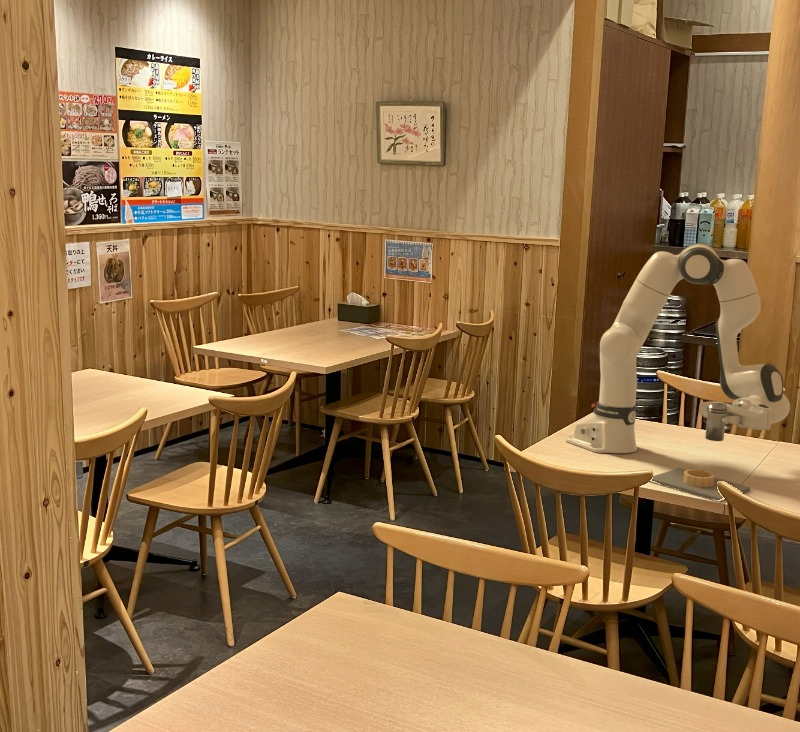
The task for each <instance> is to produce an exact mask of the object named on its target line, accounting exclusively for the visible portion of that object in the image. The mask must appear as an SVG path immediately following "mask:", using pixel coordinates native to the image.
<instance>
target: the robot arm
mask: <svg viewBox="0 0 800 732" xmlns="http://www.w3.org/2000/svg"><path fill="white" fill-rule="evenodd" d="M681 280H685V281H686V282H688V283H691V284H693V285H695V284H696V285H713V286H714V288H715V290H716V296H717V298H718V301H719V305H720V306H719V307H720V310H719V311H720V314H719V317H718V319H717V320H716V323H715V335H716V343H717V345H716V346H717V352H718V360H719V368H720V369H719V370H720V372H719V373H720V375H719V386H720V389H721V391H722V393H724V395H725V396H726V397H727V398H729V399H731V400H733V402H732V404H731V403H726V402H723V401H722V402H721V401H702V402H700V404H699V408H698V409H699V410H698V413H699V415H700V416H702V417H703V418H705V419H707V415H708V404H709V403H722V404H726V405H727V412H726V416H723V417H722V420H721V422H722V423H725V425H726V424H727V425H728V424H732V425H735V426H737V427H738V428H741V429H751V430H754V431H755V430H756V431H760V430H761V431H769V430H771V426H772V424H776V423H779V422H782V420H784V419H786V418H787V416H788V415H789V414H790V410H791V405H790V404H791V402H790V401H789V398H788V397H787V396H786V395H785V393H784V378H783V376H782V373H781V372H780V370H779V369H778V368H777V367H776V366H775V365H774V364H772V363H760V364H759V363H758V364H751V365H750V364H749V365H742V364H741V363H740V360H739V353H738V351H739V350H738V342H737V337H738V335H739V333H740V332H741V331H742V330H743V329H744V328H746V327H747V326H749V325H751V324H752V323H753V322H755V320H756V319H757V318H758V316H759V315H760V312H761V310H762V309H761V307H762V306H761V305H762V304H761V298H760V295H759V290H758V287H757V284H756V281H755V278H754V276H753V274H752V272H751V270H750V267H749V265H748V263H747V262H746V261H744V260H743V259H740V258H729V259H726V260H725V259H721V258H720V257H719V255H718V253H717V251H716V249H715V248H714V247H713V246H711V245H710V244H707V243H704V242H695V243H693V244H691V245H689V246H687V247H685V248H684V249H682V250H681V251H679V252H677V253H676V254H674V253H671V252H669V251H663V250H662V251H657V252H655V253H653V255H651V257H650V258H648V260H647V261H646V263H645V264H644V265H643V267H642V268H641V270H640V272H639V273H638V275H637V276H636V278H635V280H634V282H633V284H632V286H631V287H630V289H629V291H628V293H627V295H626V297H625V299H624V300H623V301H622V304H621V307H620V309H619V312H618V313H617V315H616V317H615V320H614V322H613V323H612V325H611V326H610V328H609V329H607V330H606V331H605V332H604V333H603V334H602V336H601V338H600V341H599V368H600V370H599V371H600V382H599V397H598V399H599V400H598V401H596V402H594V403H591V406H590V407H591V408H594V409H593V412H592V413H590V414H588V415H587V416H585V417H584V418H582V419H580V420H578V422H577V423H576V424H575V427H574V430H573V434H570V435H568V436H567V437H566V439H565V442H566V443H568V444H569V443H570V444H573V445H575V446H578V447H580V448H583V449H586V450H589V451H591V452H595V453H598V454H601V453H604V454H605V453H606V454H607V453H608V454H630V453H635V452H636V451H637V450H638V447H637V443H636V435H635V433H636V432H635V423H636V422H635V421H636V417H637V405H636V399H637V387H638V378H637V377H638V376H637V375H638V374H637V372H638V371H637V359H638V357H637V355H638V353H639V352H640V350H641V348H642V347H643V346H644V343H645V342H646V340H647V338H648V337H649V334H650V332H651V330H652V328H653V326H654V324H655V322H656V320H657V318H658V317H659V315H660V313H661V312H662V310H663V308H664V306H665V305H666V302H667V301H668V299H669V298H670V296H671V293H672V292H673V290H674V288H675V287H676V285H677V284H678V282H680V281H681Z"/></svg>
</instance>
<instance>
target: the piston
mask: <svg viewBox="0 0 800 732" xmlns="http://www.w3.org/2000/svg"><path fill="white" fill-rule="evenodd" d="M722 403H723V402H722ZM722 403H709V404H708V415H707V418H706V427H705V437H704V438H705V439H706V440H708V441H711V442H712V441H713V442H723V441H724V440H725V431H726V430H725V429H726V423H722V422H721V420H722V417H723V416H726V412H727V405H726V404H727V403H726V404H722Z"/></svg>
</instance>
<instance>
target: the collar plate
mask: <svg viewBox="0 0 800 732" xmlns="http://www.w3.org/2000/svg"><path fill="white" fill-rule="evenodd" d="M652 476H653V479H652V481H655V482H657V483H660V484H662V485H666V486H669V487H673V488H676V489H679V490H681V491H680V492H683V491H685V492H684V493H686V492H688V493H687V494H689V493H691V494H690V495H693V494H695V495H694V496H696V495H698V496H697V497H700V496H702V497H701V498H703V497H705V498H704V499H707V498H709V499H708V500H710V499H715V500H720V499H722V498H723V497H722V496H721V495H720V493H719V492H718V489H717V482H718V481H725V482H727V483H728V484H730V485H732V486H733V487H735V488H737V489H738V490H740V491H741V492H743V493H742V494H745V493H748V492H750V491H751V487H750V486H747V485H744V484H741V483H736V482H733V481H728V480H725V479H722V478H718V477H715V473H713V472H711V471H708V470H703V469H694V468H693V469H684V468H680V467H677V468H675V469H671V470H668V471H665V472H662V473H659V474H655V475H652ZM662 485H661V486H662ZM669 487H668V488H669ZM676 489H675V490H676ZM679 490H678V491H679Z"/></svg>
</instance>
